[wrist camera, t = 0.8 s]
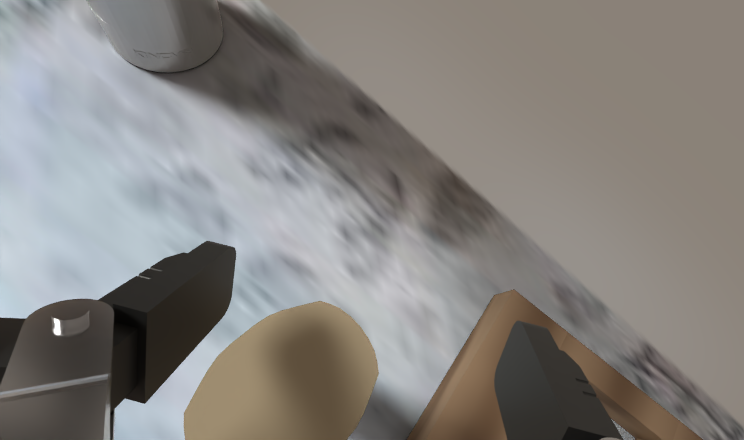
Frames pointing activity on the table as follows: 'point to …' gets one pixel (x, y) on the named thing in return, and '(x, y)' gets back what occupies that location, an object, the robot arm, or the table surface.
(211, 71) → the table surface
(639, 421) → the wooden rectangular frame
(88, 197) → the table surface
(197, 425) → the handle
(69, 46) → the table surface
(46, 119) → the table surface
